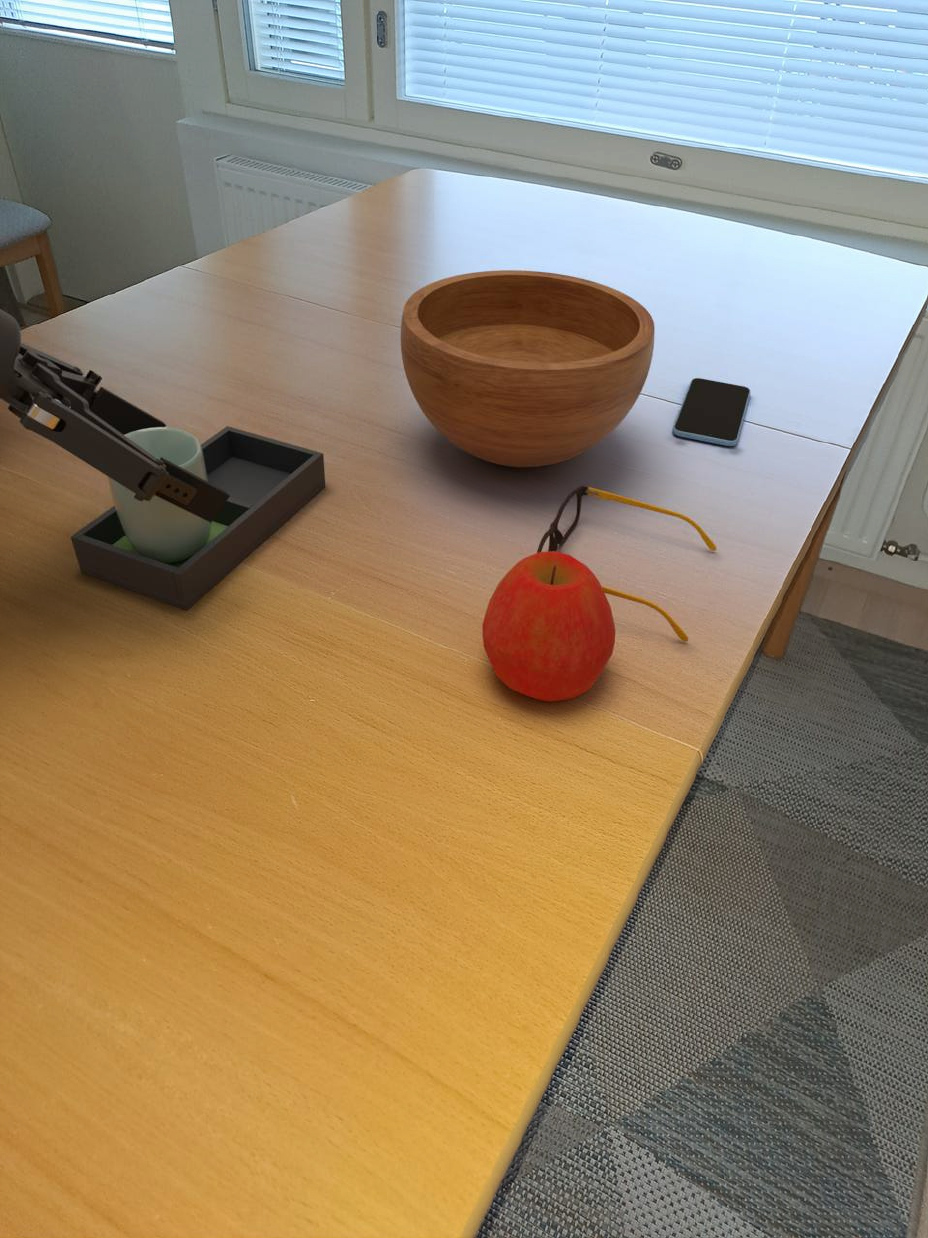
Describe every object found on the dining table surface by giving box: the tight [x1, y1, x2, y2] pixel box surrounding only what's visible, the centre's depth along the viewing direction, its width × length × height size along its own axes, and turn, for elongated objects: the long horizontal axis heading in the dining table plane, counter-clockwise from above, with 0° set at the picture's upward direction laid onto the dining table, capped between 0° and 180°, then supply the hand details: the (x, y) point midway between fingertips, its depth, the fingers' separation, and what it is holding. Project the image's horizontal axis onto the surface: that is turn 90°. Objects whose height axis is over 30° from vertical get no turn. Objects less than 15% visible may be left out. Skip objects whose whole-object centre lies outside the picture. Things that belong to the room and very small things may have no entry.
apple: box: [481, 551, 616, 703], centre depth 69 cm, size 10×10×10 cm
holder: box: [70, 425, 327, 611], centre depth 85 cm, size 11×22×4 cm, turn 155°
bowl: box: [400, 269, 656, 468], centre depth 94 cm, size 25×25×15 cm
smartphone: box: [672, 377, 751, 447], centre depth 107 cm, size 7×1×15 cm
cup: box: [106, 426, 212, 563], centre depth 78 cm, size 8×8×10 cm
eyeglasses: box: [536, 484, 718, 642], centre depth 81 cm, size 14×14×4 cm
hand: (186, 469), depth 78 cm, fingers open, 13 cm apart
